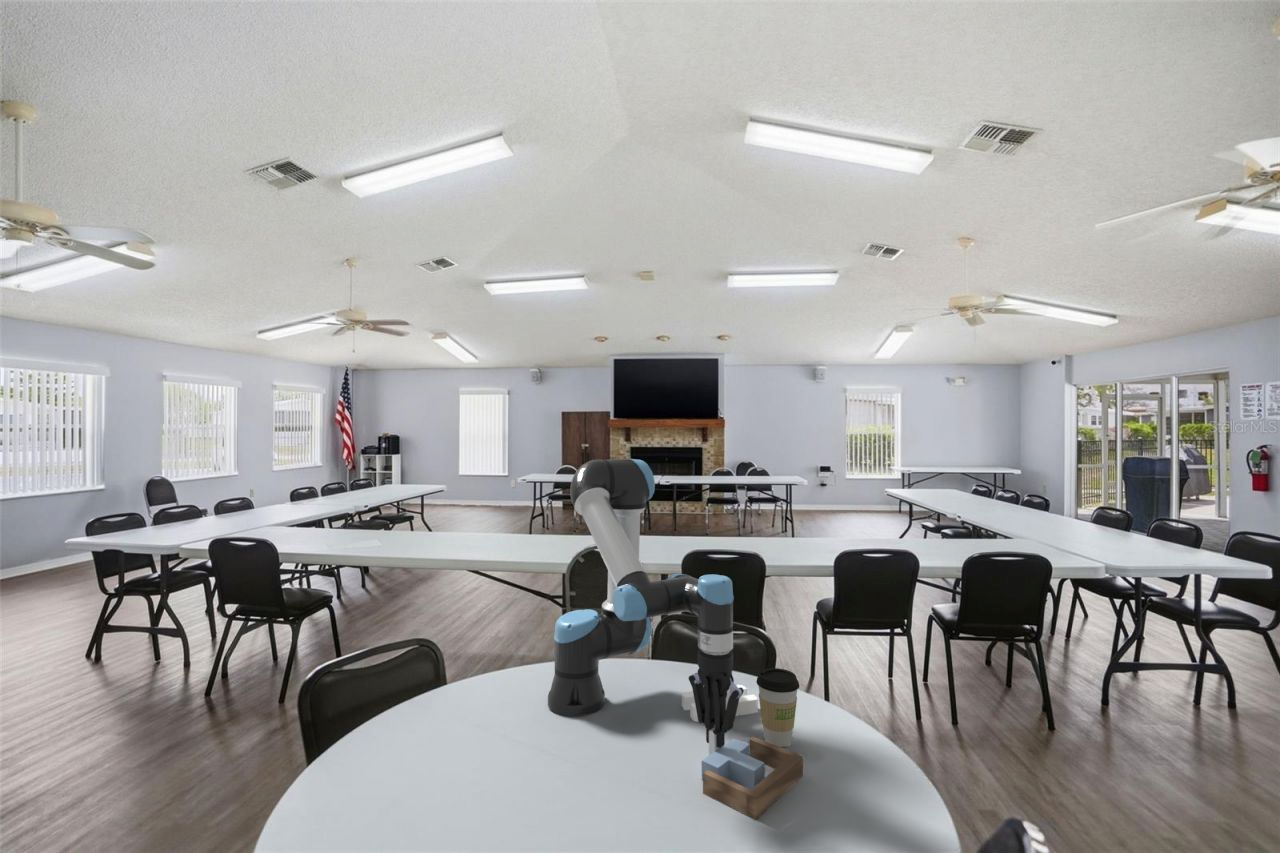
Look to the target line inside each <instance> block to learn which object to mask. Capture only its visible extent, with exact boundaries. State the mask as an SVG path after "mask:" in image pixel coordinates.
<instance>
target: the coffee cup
mask: <svg viewBox="0 0 1280 853" xmlns="http://www.w3.org/2000/svg"><path fill="white" fill-rule="evenodd" d="M758 673H759V674H758V676H757V677H756V681H755V682H756V684H757V686H758V692H759V693H758V702H759V707H760V715H761V716H760V717H761V725H762V728H763V739H764V741H765V742H768V743H770V744H773V745H776V746H778V747H781V748H785V747H789V746H791V744H792V742H793V741H792V740H793V730H794V727H795V720H796V711H797V710H796V709H797V701H798V697H797V696H798V694H797V693H798V689H800V682H799V680H798V678H797V675H796V674H795V673H794V672H792V671H791V670H788V669H784V668H779V667H777V668H776V667H770V668H764V669H762V670H760V671H759V672H758Z"/></svg>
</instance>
